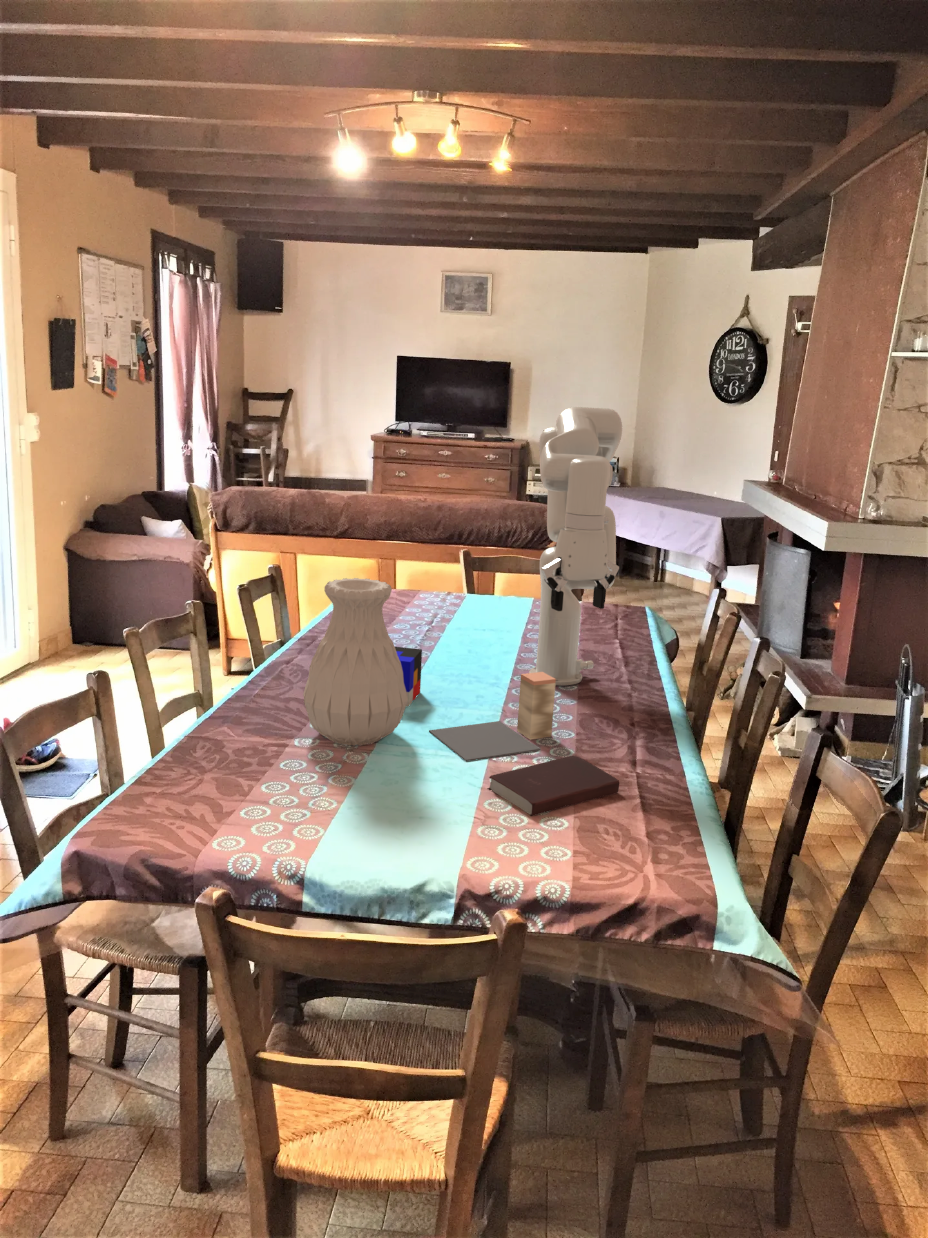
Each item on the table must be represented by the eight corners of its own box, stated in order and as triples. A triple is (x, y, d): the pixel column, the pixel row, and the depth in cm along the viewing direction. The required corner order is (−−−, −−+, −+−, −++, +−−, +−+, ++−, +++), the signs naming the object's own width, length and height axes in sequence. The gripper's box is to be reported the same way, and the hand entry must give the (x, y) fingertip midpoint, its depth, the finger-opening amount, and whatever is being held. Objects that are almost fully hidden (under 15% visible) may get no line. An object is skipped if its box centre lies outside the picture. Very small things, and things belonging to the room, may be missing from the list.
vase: (427, 739, 188) (434, 588, 180) (345, 764, 174) (348, 601, 167) (363, 711, 202) (366, 569, 194) (281, 731, 188) (282, 580, 180)
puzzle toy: (408, 707, 206) (410, 661, 203) (363, 701, 208) (364, 656, 205) (420, 692, 215) (422, 649, 213) (376, 687, 217) (378, 644, 215)
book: (619, 796, 168) (620, 778, 167) (531, 819, 157) (533, 801, 156) (572, 770, 178) (573, 754, 177) (486, 791, 167) (487, 773, 166)
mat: (499, 722, 199) (499, 721, 199) (540, 750, 185) (540, 748, 185) (428, 731, 192) (429, 730, 192) (465, 761, 178) (465, 759, 178)
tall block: (538, 728, 197) (542, 671, 194) (551, 736, 193) (555, 679, 190) (517, 731, 195) (520, 674, 192) (529, 739, 191) (534, 681, 188)
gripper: (610, 519, 195) (603, 602, 199) (536, 520, 188) (530, 606, 192) (632, 525, 189) (624, 610, 193) (556, 526, 181) (549, 615, 185)
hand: (577, 608), depth 192 cm, fingers open, 9 cm apart
